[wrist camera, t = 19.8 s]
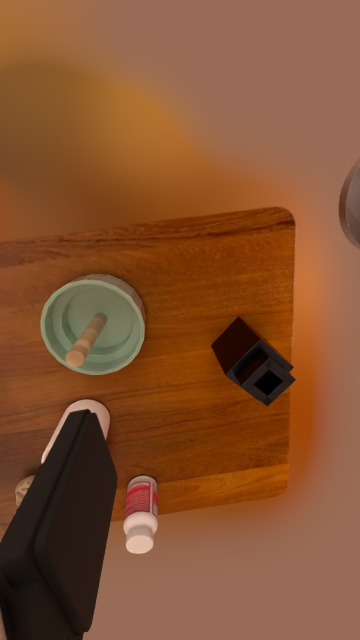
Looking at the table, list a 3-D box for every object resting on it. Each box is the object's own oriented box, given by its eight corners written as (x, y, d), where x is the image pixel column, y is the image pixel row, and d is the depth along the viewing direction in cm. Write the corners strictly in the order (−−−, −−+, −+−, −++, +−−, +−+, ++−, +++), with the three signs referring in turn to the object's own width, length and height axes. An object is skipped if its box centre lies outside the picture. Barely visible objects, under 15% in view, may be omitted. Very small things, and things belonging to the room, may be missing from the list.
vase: (238, 316, 44) (270, 348, 32) (266, 339, 46) (305, 378, 34) (210, 345, 46) (230, 387, 33) (238, 367, 48) (267, 414, 35)
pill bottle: (121, 487, 54) (113, 548, 44) (140, 469, 53) (136, 527, 43) (144, 500, 56) (142, 561, 46) (163, 483, 55) (165, 542, 44)
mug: (130, 435, 50) (124, 484, 41) (94, 454, 51) (79, 506, 41) (94, 390, 46) (77, 432, 37) (55, 410, 47) (28, 457, 37)
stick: (99, 310, 41) (72, 347, 28) (109, 317, 42) (88, 357, 29) (91, 319, 42) (61, 360, 28) (102, 327, 42) (77, 370, 29)
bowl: (90, 253, 39) (79, 257, 33) (163, 311, 43) (164, 323, 37) (38, 323, 42) (20, 337, 36) (111, 371, 46) (105, 391, 40)
